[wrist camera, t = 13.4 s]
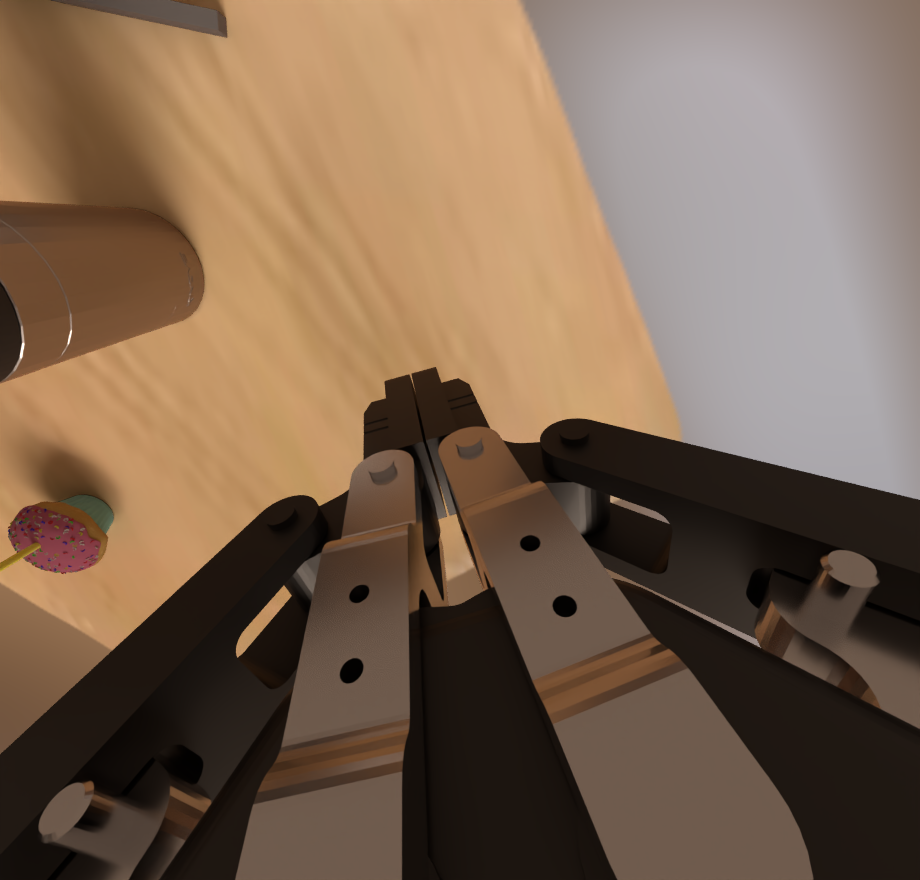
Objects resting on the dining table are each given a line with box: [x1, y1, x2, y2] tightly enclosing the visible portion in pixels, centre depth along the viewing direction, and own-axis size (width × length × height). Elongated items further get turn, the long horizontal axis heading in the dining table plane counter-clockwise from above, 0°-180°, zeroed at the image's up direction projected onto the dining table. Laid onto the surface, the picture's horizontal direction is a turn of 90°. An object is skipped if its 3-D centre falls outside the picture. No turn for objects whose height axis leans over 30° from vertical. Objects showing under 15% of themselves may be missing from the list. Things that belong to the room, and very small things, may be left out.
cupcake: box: [0, 495, 114, 574], centre depth 42 cm, size 9×8×12 cm
